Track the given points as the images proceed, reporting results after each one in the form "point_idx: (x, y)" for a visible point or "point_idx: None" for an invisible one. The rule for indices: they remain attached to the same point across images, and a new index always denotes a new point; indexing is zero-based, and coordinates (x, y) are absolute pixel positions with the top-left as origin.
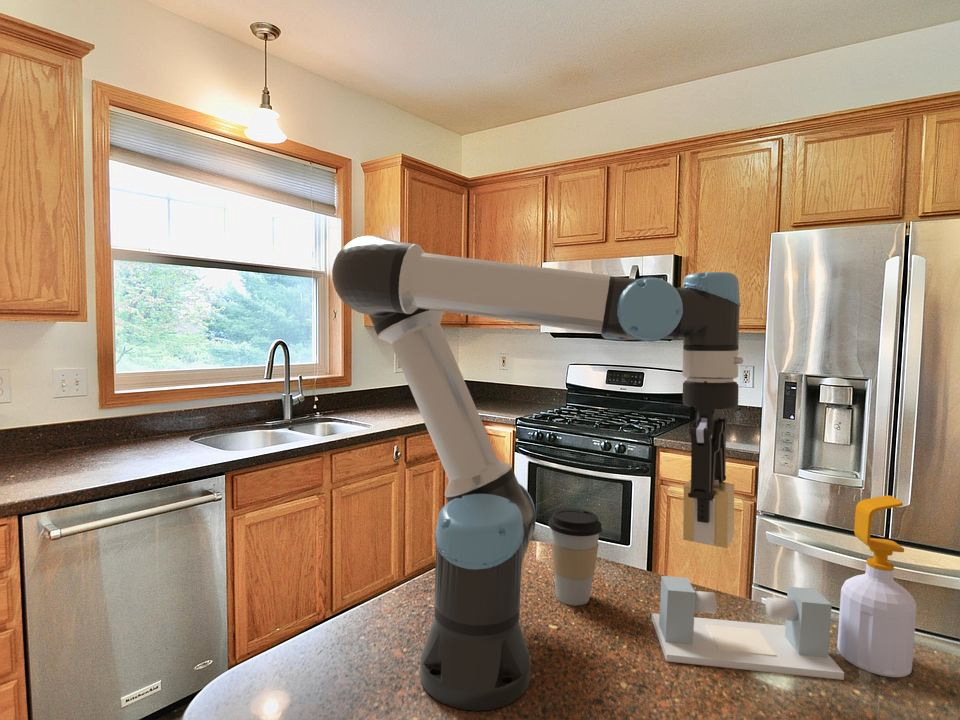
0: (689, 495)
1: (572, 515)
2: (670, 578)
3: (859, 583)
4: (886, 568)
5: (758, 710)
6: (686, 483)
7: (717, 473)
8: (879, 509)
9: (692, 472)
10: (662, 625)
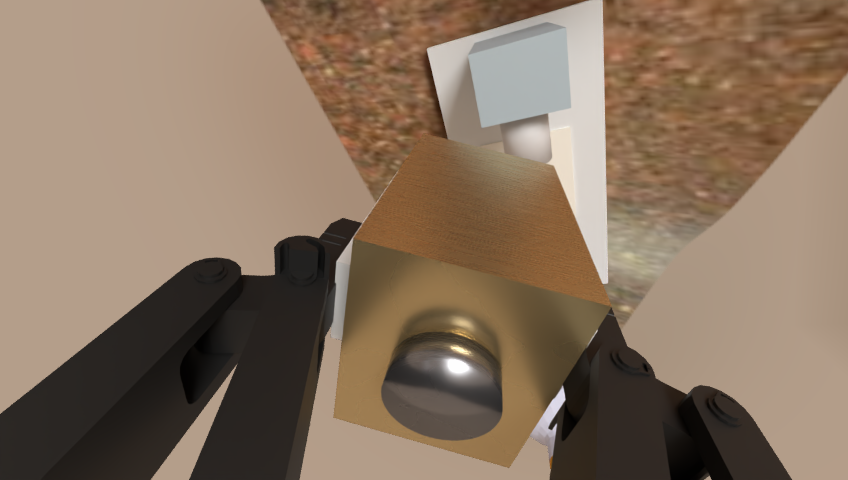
0: (284, 245)
1: None
2: (552, 58)
3: (555, 410)
4: (550, 466)
5: (366, 182)
6: (435, 259)
7: (556, 474)
8: None
9: (50, 384)
10: (510, 33)
